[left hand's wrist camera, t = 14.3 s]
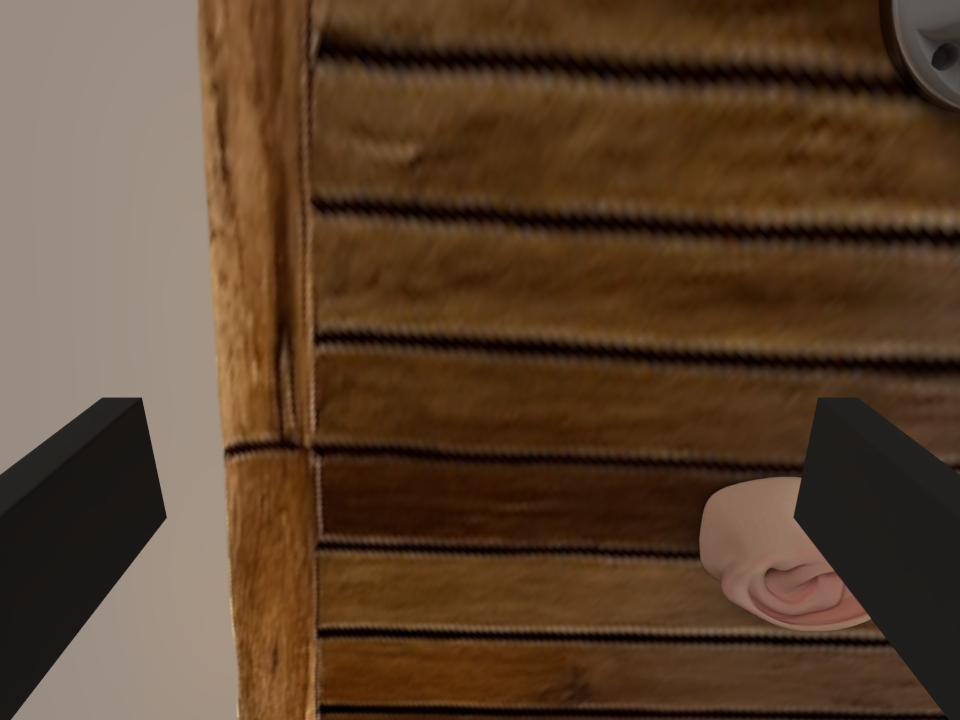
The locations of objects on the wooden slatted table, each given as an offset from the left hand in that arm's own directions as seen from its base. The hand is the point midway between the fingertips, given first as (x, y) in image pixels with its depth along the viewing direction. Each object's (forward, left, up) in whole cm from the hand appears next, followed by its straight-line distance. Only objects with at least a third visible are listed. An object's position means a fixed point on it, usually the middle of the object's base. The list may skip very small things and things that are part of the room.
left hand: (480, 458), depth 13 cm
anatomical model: (-23, +24, -29) cm, 44 cm away
